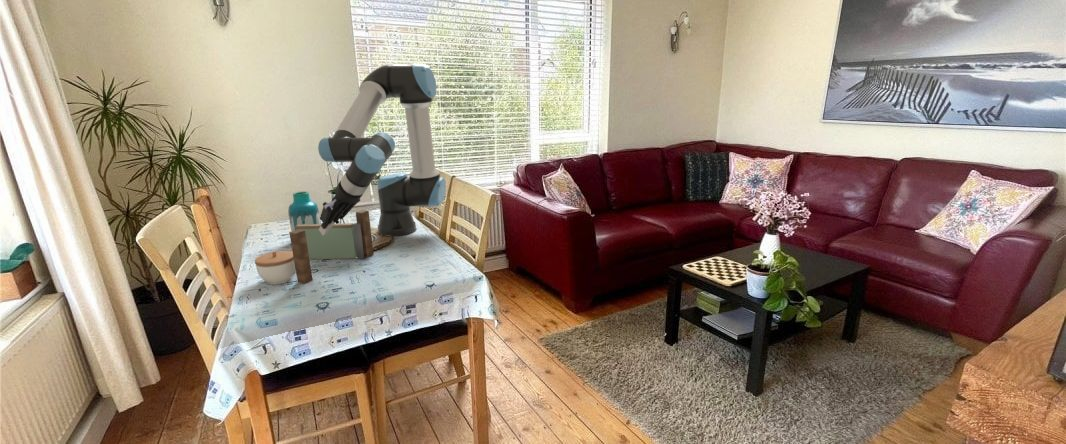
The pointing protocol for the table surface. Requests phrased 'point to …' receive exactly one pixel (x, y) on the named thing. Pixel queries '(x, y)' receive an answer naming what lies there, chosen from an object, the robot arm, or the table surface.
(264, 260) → the lidded jar
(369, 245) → the gate posts
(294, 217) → the vase
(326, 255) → the gate
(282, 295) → the table surface
